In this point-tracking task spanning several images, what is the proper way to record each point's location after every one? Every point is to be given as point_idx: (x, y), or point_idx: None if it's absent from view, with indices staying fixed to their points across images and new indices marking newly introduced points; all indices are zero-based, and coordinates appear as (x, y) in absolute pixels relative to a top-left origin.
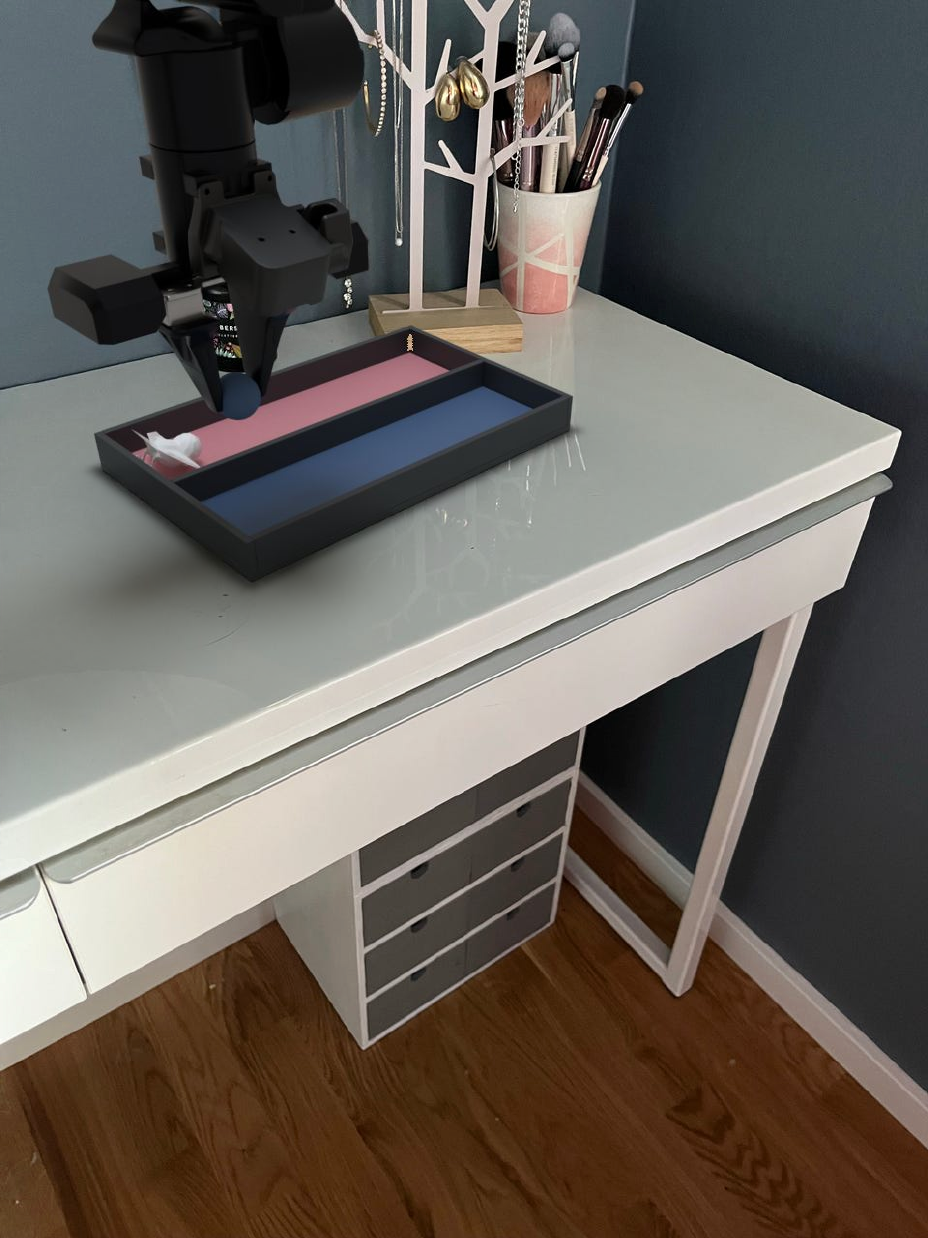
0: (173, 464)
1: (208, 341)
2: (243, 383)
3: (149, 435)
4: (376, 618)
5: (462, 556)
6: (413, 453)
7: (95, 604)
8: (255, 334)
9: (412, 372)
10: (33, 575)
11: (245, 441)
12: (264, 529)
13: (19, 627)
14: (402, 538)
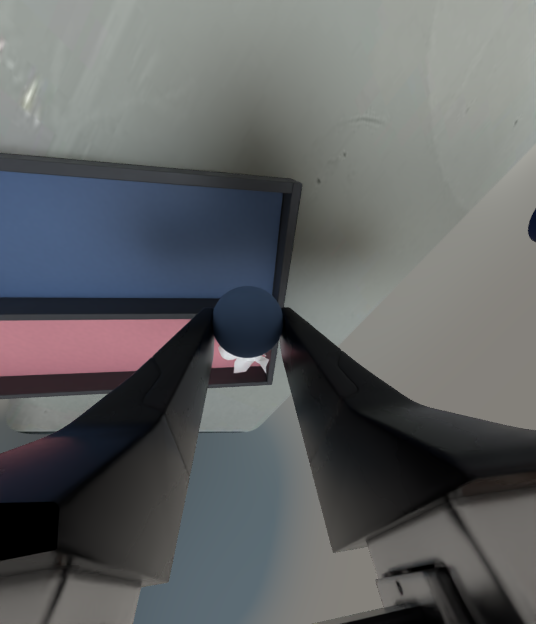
0: None
1: (365, 404)
2: (249, 322)
3: (245, 369)
4: None
5: None
6: (23, 236)
7: (377, 248)
8: (187, 403)
9: None
10: (369, 300)
11: None
12: (272, 191)
13: (416, 260)
14: (113, 105)
